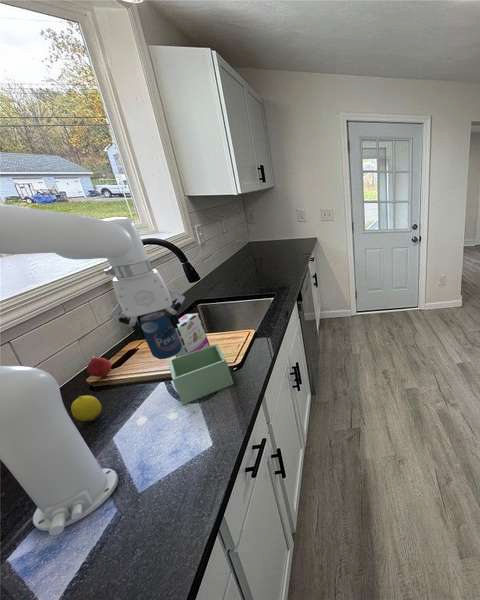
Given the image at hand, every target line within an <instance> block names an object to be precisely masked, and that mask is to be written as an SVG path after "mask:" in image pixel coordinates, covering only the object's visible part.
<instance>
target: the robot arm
mask: <svg viewBox="0 0 480 600" xmlns="http://www.w3.org/2000/svg"><path fill="white" fill-rule="evenodd" d="M31 254H32V255H34V254H55V255H58V256H59V257H62V258H65V259H68V260H69V259H70V260H95V259H107V261H108V264H109V268H107V269H104V270H103V271H104V274H105V275H106V276H113V279H112V285H113V288H114V292H115V295H116V298H117V300H118V303H117V305H115V307H114V308H113V309H112V310H111V312H109V314H108V317H109V319H112V320H114V321H117V322H119V323H121V324H124V325H128V326H129V327H131V328H132V330H133V332H134V334H135V336H136V337H139V338H140V340H143V339H145V337H144V335H143V333H142V331H141V328H140V326H139V325H140V321H137V319H138V317H142V316H143V315H146V314H148V313H152V312H156V311H164V310H166V311H167V312H169V314H168V315H169V316H170V317H171V319H172V322H173V324H174V327H175V328H176V329H177V328H178V325H177V324H180V322H179V320H178V319H179V317H178V315H177V314H178V312H179V310H180V309H181V307H182V304H183V303H184V301H185V299H186V297H185V295H184V294H180V293H178V292H174V291H172V290H169V289H168V287H167V285H166V283H165V281H164V279H163V277H162V276H161V273H159V271H158V270H157V269H154V268H153V266H152V265H153V264H152V263H151V261H150V258H149V255H148V253H147V251H146V248H145V246H144V243H143V240H142V238H141V235H140V233H139V231H138V228H137V226H136V224H135V222H134V220H133V219H132V218H130V217H124V216H123V217H120V216H119V217H109V218H103V219H101V218H96V217H93V216H86V215H83V214H75V213H69V212H62V211H54V210H48V209H47V210H46V209H39V208H32V207H26V206H20V205H13V204H12V205H11V204H3V203H0V255H31ZM172 298H173V299H176V302H175V303H174V304H173V299H172ZM121 311H122V313H123V314H124V315H121V314H119V313H120V312H121ZM63 401H64V400H63V398H62V394H61V390H60V386H59V383H58V381H57V380H56V379H55V377H54V376H53V375H52V374H51V373H49V372H47V371H45V370H43V369H40V368H36V367H32V366H26V365H25V366H23V365H0V461H1V462H2V463H3V464H4V466H5V467H6V468H7V469H8V471H9V472H10V473H11V474H12V475H13V477H14V479H15V480H16V481H17V482H18V483H19V485H20V486H21V488H22V489H23V490H24V491H25V493H26V494H27V495H28V496H29V498H30V499H31V500H32V501H33V503H34V505H35V506H36V507H37V508H36V510H35V512H34V513H33V516H32V523H33V525H34V526H35V528H37V529H38V530H39V531H43V532H44V531H45V532H48V535H49V536H58V535H60V534H61V533H63V532H64V530H65V527H68V526H71V525H72V524H75V523H77V522H78V521H81V520H82V519H84V518H85V517H87V516H89V515H90V514H91V513H93V512H94V511H96V510H97V509H98V508H99V507H100V506H101V505H103V504H104V503H105V502H106V501H107V499H109V498H110V497H111V495H112V494H113V492H114V491H115V489H116V488H117V487H118V483H119V476H118V474H117V472H116V470H115V469H111V468H107V467H106V468H102V467H101V466H100V464H99V462H98V461H97V459H96V458H95V456H94V454H93V453H92V451H91V449H90V448H89V446H88V444H87V443H86V441H85V440H84V437H82V434H81V432H79V429H78V428H77V426H76V425H75V423H74V421H73V420H72V418H71V417H70V415H69V413H68V411H67V409H66V407H65V404H64V402H63Z"/></svg>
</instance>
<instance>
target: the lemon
mask: <svg viewBox="0 0 480 600" xmlns="http://www.w3.org/2000/svg"><path fill="white" fill-rule="evenodd" d="M70 410H71V414H72V416H73V417H74V418H75V420H76V419H77V420H78V421H80V422H81V421H82V422H89V421H94V420H96V418H98V416H99V415H100V414H101V412H102V403H101V402H100V401H99V400H98V398H97V397H95V396H93V395H79V396H78V397H77V398H76V399H74V401H73V402H72V403H71V407H70Z"/></svg>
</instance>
